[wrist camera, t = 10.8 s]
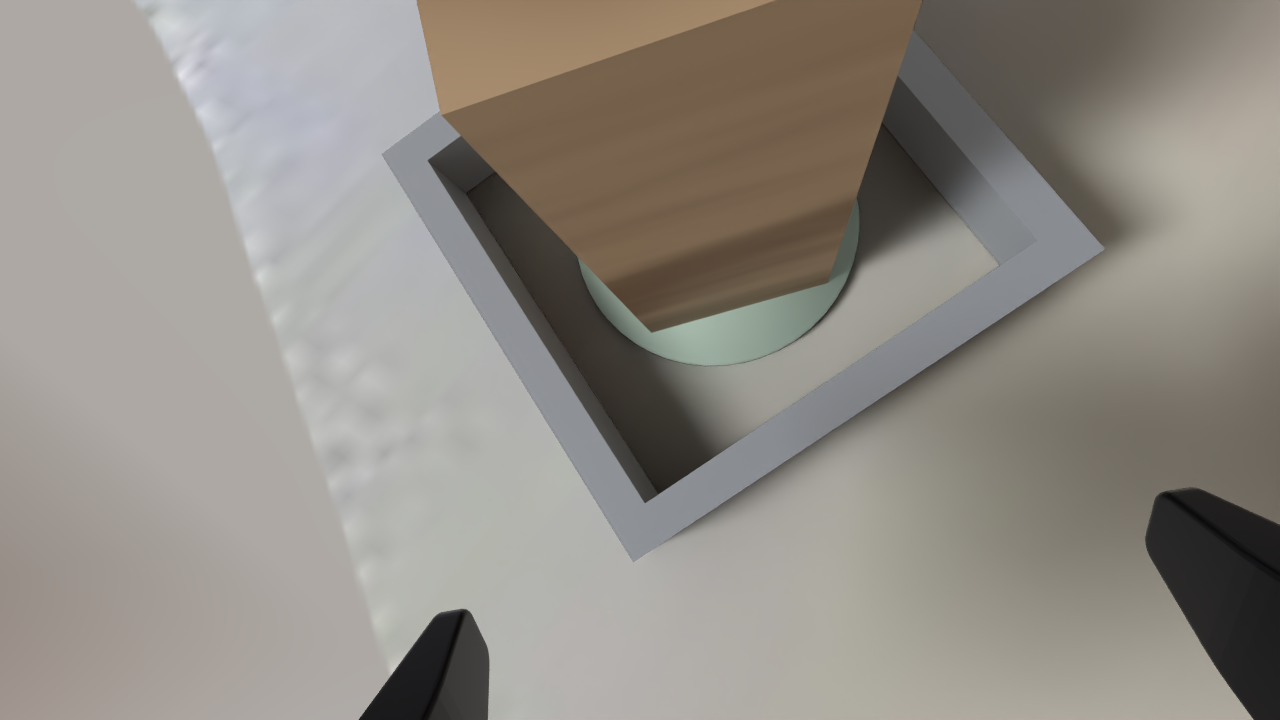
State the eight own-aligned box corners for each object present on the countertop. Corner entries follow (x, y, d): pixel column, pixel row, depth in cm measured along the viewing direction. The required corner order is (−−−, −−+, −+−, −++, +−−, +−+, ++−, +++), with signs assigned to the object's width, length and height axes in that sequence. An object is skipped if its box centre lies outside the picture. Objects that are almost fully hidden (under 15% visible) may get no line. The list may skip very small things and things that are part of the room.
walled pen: (1060, 276, 18) (1105, 249, 16) (650, 548, 19) (633, 562, 17) (771, -67, 21) (771, -135, 19) (424, 187, 22) (381, 154, 20)
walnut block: (827, 283, 19) (942, -57, 6) (651, 333, 20) (441, 114, 7) (777, 118, 20) (789, -469, 7) (609, 171, 21) (357, -279, 8)
